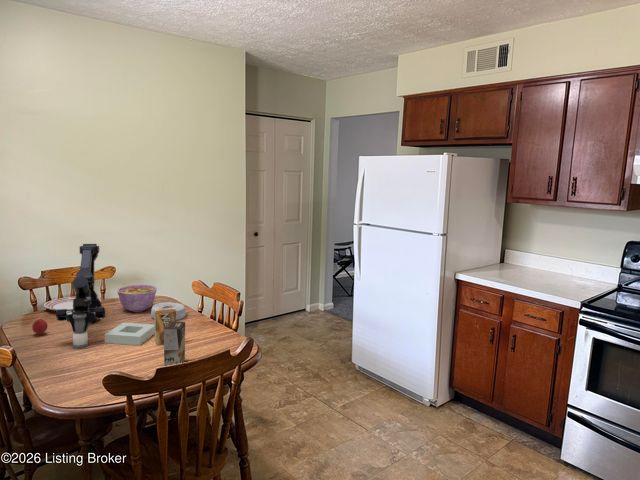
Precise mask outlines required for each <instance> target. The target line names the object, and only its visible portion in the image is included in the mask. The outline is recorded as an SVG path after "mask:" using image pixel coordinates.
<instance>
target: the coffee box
mask: <svg viewBox="0 0 640 480" xmlns="http://www.w3.org/2000/svg"><path fill="white" fill-rule="evenodd" d="M184 359H185V360H186V321H176V322H169V324H168V325H167V326H166V327H165V328H164V343H163V367H164V366H167V365H172V364H177V363H181V362H183V363H184V362H185V360H184Z"/></svg>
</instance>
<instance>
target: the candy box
mask: <svg viewBox="0 0 640 480" xmlns="http://www.w3.org/2000/svg"><path fill="white" fill-rule="evenodd" d="M169 322H177V320H176V309H175V307H174V308H162V309H155V319H154V325H155V334H154V342H155V345H161V344H164V328H165V327H166V326H167V325H168V324H169Z"/></svg>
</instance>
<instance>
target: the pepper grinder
mask: <svg viewBox="0 0 640 480" xmlns="http://www.w3.org/2000/svg"><path fill="white" fill-rule="evenodd" d="M85 317H86V313H76V314H74V315H73V318H74V322H75V332H73V331H72V348H73V349H77V350H79V349H85V348H87V347H88V346H89V339H88V337H89V336H88V330H87V331H86V332H85V324H86V323H85Z"/></svg>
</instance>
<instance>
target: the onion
mask: <svg viewBox="0 0 640 480" xmlns="http://www.w3.org/2000/svg"><path fill="white" fill-rule="evenodd" d="M31 327H32V328H31V329H32V331H33V332H34V334H37V335H39V336H40V335H43V334H44V333H45V332H46V331H47V330H48V323H47V322H46V321H45V320H43V319H42V317H39V318H37V320H35V321H34V322H33V324H32V326H31Z"/></svg>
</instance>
